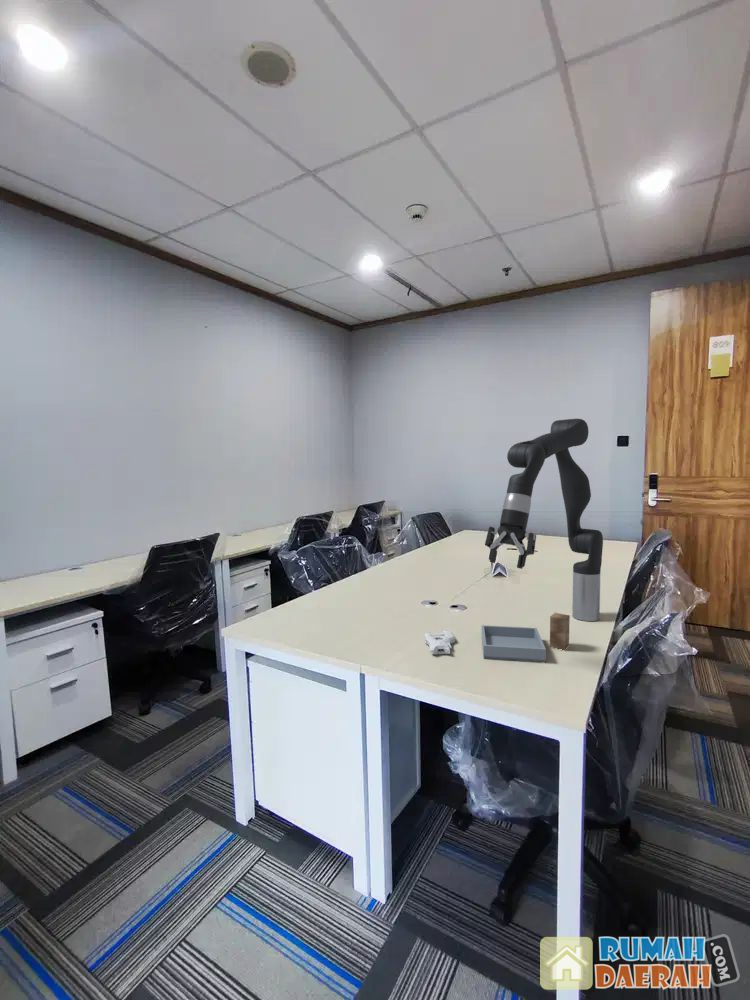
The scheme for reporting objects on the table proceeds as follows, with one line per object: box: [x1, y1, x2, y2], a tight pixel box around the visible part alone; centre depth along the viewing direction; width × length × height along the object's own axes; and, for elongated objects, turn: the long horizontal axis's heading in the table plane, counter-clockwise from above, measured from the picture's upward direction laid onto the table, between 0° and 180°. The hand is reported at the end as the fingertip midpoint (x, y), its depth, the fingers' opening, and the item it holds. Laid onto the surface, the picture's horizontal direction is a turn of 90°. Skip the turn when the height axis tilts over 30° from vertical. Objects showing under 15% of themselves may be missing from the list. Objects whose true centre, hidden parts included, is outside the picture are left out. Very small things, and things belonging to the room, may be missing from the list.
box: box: [481, 624, 547, 663], centre depth 143 cm, size 18×18×4 cm
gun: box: [424, 630, 456, 656], centre depth 147 cm, size 18×3×10 cm
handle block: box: [549, 612, 571, 651], centre depth 144 cm, size 4×4×10 cm
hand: (505, 565), depth 132 cm, fingers open, 8 cm apart
